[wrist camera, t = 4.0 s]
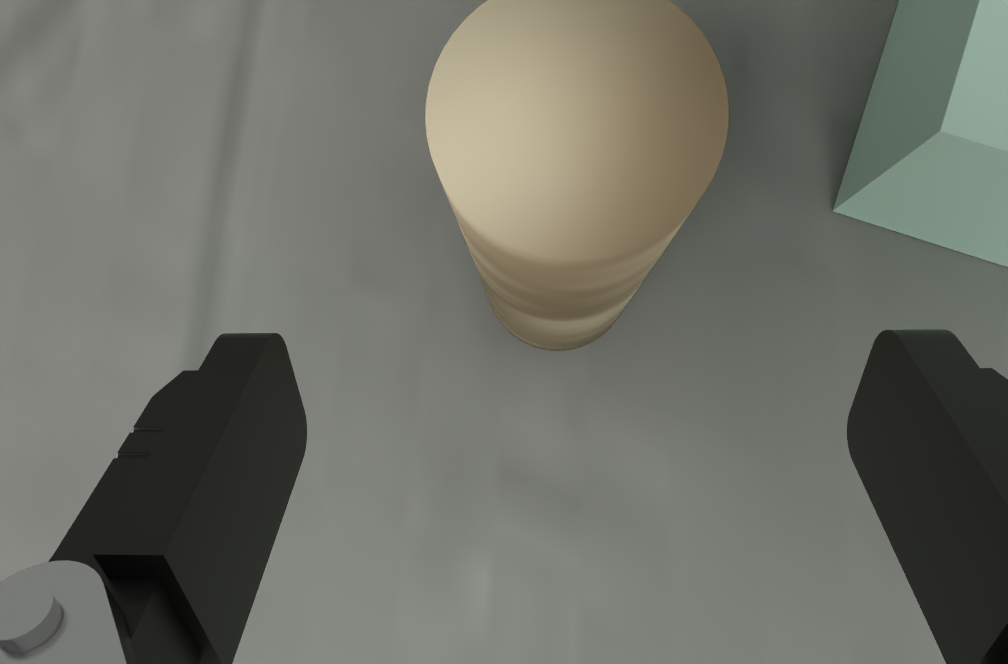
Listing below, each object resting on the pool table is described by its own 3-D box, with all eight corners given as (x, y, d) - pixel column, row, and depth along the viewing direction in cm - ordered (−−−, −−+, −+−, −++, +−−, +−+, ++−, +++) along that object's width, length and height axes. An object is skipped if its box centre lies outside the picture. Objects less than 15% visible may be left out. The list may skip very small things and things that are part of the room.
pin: (467, 323, 18) (381, 202, 9) (515, 194, 19) (485, -64, 9) (601, 370, 18) (673, 301, 8) (646, 238, 18) (767, 20, 9)
